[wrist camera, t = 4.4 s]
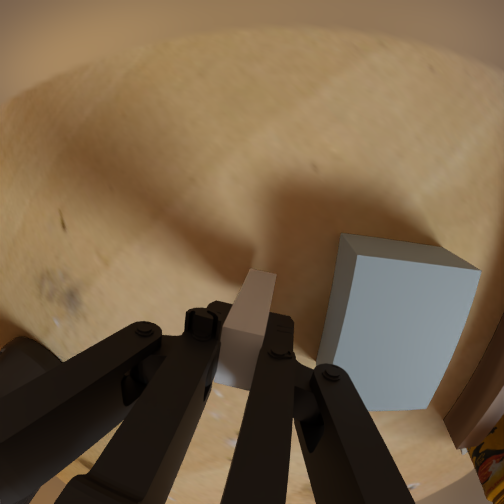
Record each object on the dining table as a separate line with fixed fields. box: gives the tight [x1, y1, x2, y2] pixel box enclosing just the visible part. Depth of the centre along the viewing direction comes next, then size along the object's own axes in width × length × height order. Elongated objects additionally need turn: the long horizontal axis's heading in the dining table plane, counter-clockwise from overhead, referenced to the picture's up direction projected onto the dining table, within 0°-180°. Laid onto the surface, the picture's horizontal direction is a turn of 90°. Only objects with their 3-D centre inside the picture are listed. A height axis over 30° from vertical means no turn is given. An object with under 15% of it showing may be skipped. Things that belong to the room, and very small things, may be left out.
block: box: [316, 233, 481, 411], centre depth 15 cm, size 7×9×5 cm
